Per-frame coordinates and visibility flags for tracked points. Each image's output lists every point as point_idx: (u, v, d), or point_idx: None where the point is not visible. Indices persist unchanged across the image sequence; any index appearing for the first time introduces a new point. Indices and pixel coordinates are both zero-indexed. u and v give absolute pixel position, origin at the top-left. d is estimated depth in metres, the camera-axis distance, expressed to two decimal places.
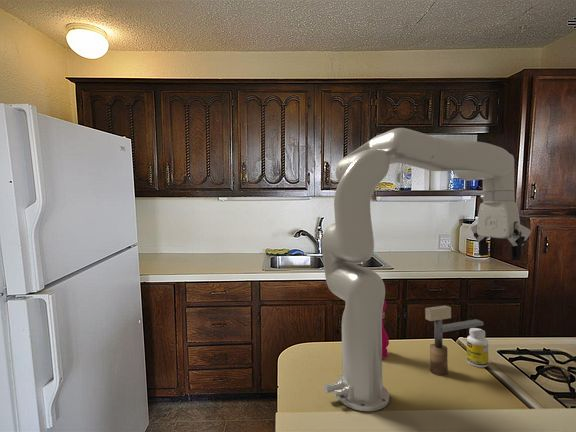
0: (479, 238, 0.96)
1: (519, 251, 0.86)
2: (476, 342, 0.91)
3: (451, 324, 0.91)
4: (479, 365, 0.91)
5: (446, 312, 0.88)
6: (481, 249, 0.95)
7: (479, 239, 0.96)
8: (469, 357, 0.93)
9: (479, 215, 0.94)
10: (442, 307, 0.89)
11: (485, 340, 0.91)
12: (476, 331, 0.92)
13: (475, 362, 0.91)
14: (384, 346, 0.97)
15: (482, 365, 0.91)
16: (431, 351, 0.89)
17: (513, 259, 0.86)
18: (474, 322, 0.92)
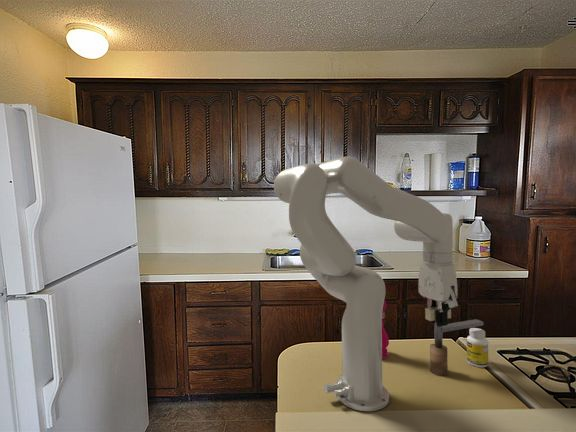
0: (430, 304, 0.90)
1: (445, 317, 0.87)
2: (476, 342, 0.91)
3: (451, 324, 0.91)
4: (479, 365, 0.91)
5: None
6: None
7: (429, 304, 0.90)
8: (469, 357, 0.93)
9: (420, 274, 0.91)
10: None
11: (485, 340, 0.91)
12: (476, 331, 0.92)
13: (475, 362, 0.91)
14: (384, 346, 0.97)
15: (482, 365, 0.91)
16: (431, 351, 0.89)
17: (439, 325, 0.87)
18: (474, 322, 0.92)
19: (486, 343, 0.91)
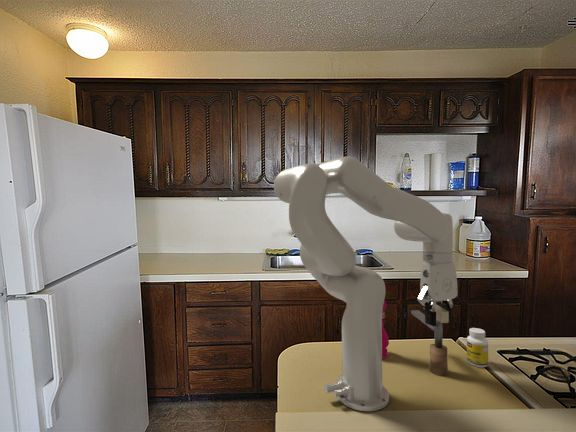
0: (434, 307, 0.86)
1: None
2: (476, 342, 0.91)
3: None
4: (479, 365, 0.91)
5: None
6: None
7: (433, 308, 0.86)
8: (469, 357, 0.93)
9: (436, 279, 0.84)
10: (436, 306, 0.90)
11: (485, 340, 0.91)
12: (476, 331, 0.92)
13: (475, 362, 0.91)
14: (384, 346, 0.97)
15: (482, 365, 0.91)
16: (431, 351, 0.89)
17: None
18: (420, 313, 1.01)
19: (486, 343, 0.91)
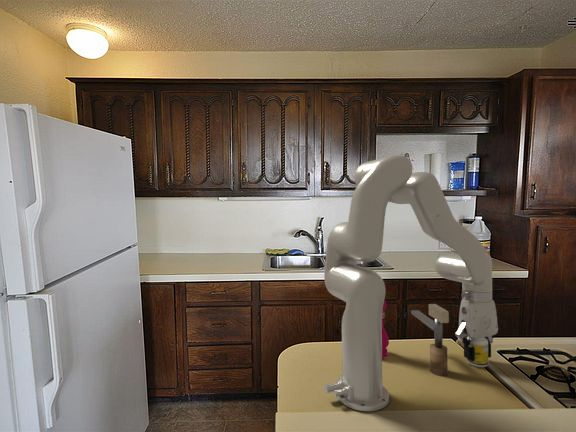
0: (472, 343, 0.91)
1: None
2: (476, 342, 0.91)
3: (428, 321, 0.94)
4: (479, 365, 0.91)
5: None
6: None
7: (472, 343, 0.91)
8: None
9: (474, 317, 0.89)
10: (436, 306, 0.90)
11: (485, 340, 0.91)
12: None
13: (476, 362, 0.91)
14: (384, 346, 0.97)
15: (482, 365, 0.91)
16: (431, 351, 0.89)
17: None
18: (420, 313, 1.01)
19: (486, 343, 0.91)
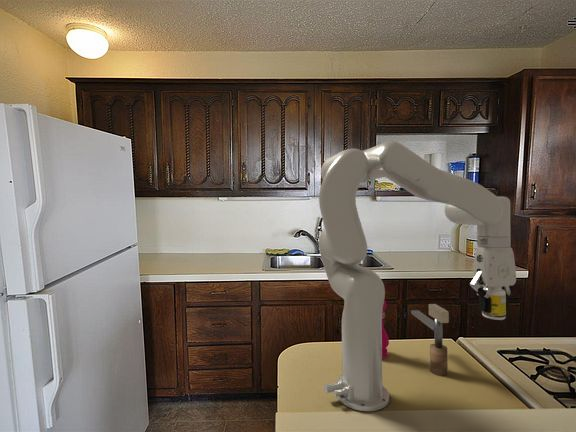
0: (488, 293, 0.83)
1: None
2: (492, 292, 0.84)
3: (428, 321, 0.94)
4: (496, 317, 0.83)
5: None
6: None
7: (488, 294, 0.83)
8: None
9: (491, 264, 0.82)
10: (436, 306, 0.90)
11: (502, 290, 0.84)
12: None
13: (492, 314, 0.84)
14: (384, 346, 0.97)
15: (499, 317, 0.83)
16: (431, 351, 0.89)
17: None
18: (420, 313, 1.01)
19: (504, 293, 0.83)
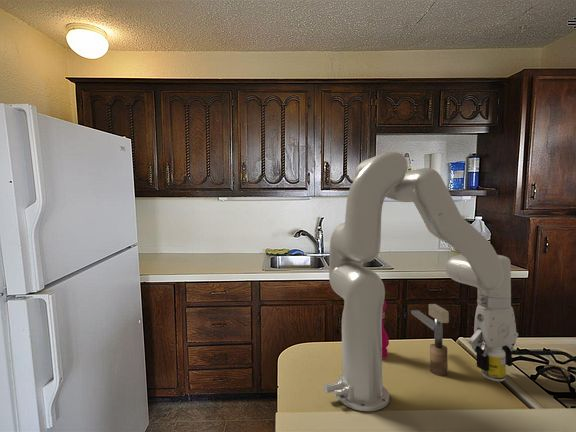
0: (486, 352, 0.83)
1: None
2: (492, 353, 0.84)
3: (428, 321, 0.94)
4: (496, 379, 0.84)
5: None
6: None
7: (486, 352, 0.83)
8: None
9: (491, 324, 0.82)
10: (436, 306, 0.90)
11: (502, 351, 0.84)
12: None
13: (492, 376, 0.84)
14: (384, 346, 0.97)
15: (499, 379, 0.83)
16: (431, 351, 0.89)
17: None
18: (420, 313, 1.01)
19: (503, 355, 0.84)
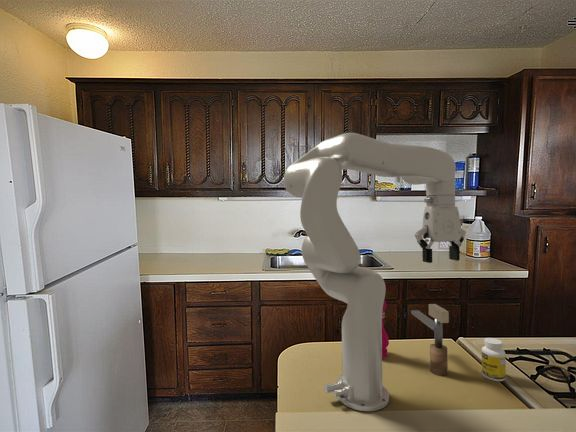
0: (430, 244, 0.90)
1: None
2: (492, 353, 0.84)
3: (428, 321, 0.94)
4: (496, 379, 0.84)
5: None
6: None
7: (429, 245, 0.90)
8: (484, 370, 0.86)
9: (436, 220, 0.89)
10: (436, 306, 0.90)
11: (502, 351, 0.84)
12: (493, 341, 0.85)
13: (492, 376, 0.84)
14: (384, 346, 0.97)
15: (499, 379, 0.83)
16: (431, 351, 0.89)
17: None
18: (420, 313, 1.01)
19: (503, 355, 0.84)
